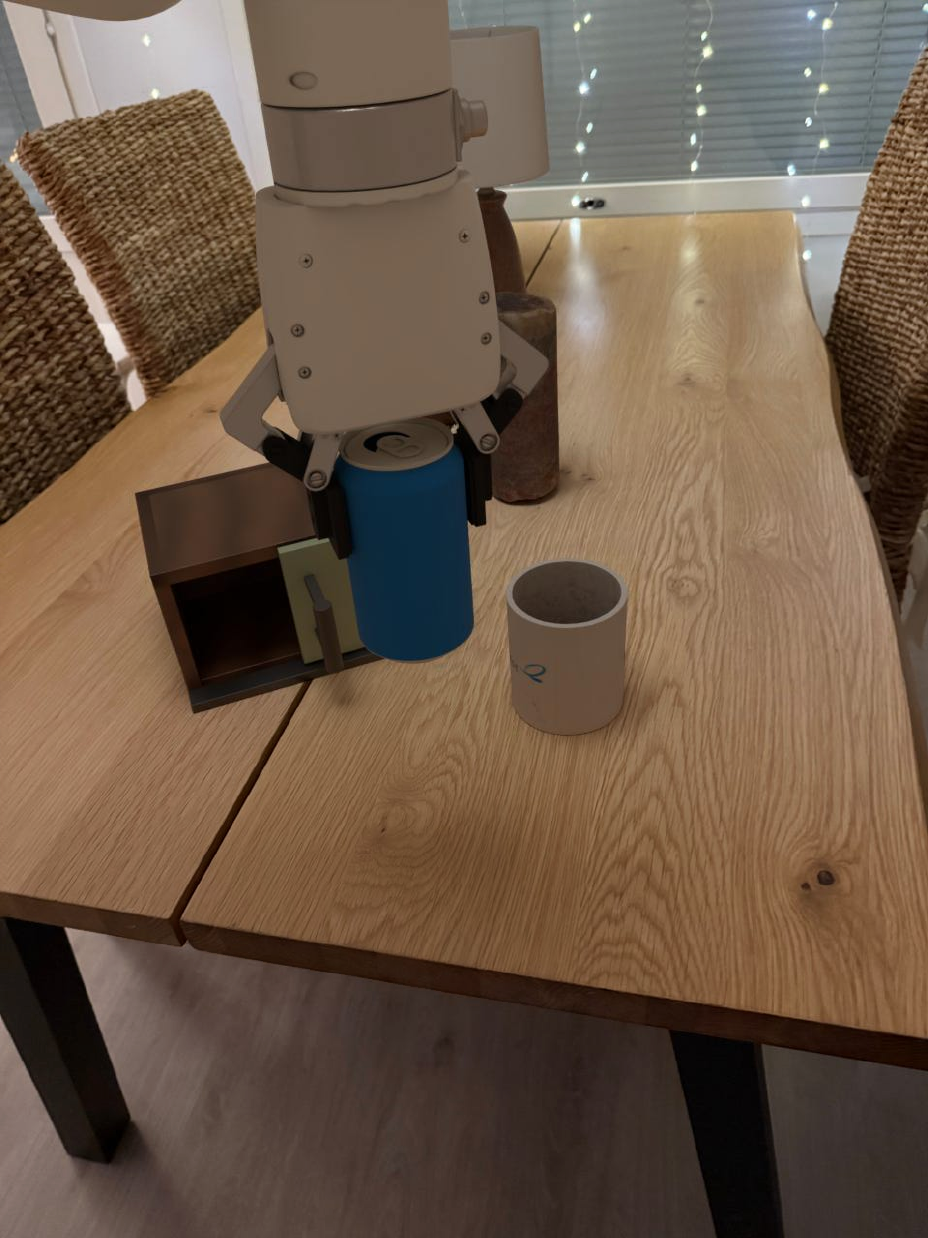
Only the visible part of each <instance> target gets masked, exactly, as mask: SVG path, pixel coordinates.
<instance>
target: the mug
mask: <svg viewBox="0 0 928 1238" xmlns="http://www.w3.org/2000/svg"><path fill="white" fill-rule="evenodd" d="M628 591H629V590H628V587H627V583H626V582H625V580H624V579H623V577H622V576H621V575H620V574H619V573H618V572H617V571H616V570H614V569H612V568H611V567H609V566H607V565H604V564H602V563H600V562H598V561H595V560H594V561H593V560H590V559H583V558H578V557H577V558H576V557H574V558H573V557H562V558H552V559H547V560H542V561H538V562H535V563H533V564H530V565H528V566H526V567H524V568H523V569H521V570H520V571H518V572H516V574H514V576H513V577H512V578H511V579H510V580H509V583H508V584H507V587H506V591H505V597H506V614H507V615H506V617H507V632H508V650H509V651H508V652H509V668H510V669H509V671H510V688H511V701H512V702H511V703H512V707H513V708H514V711H515V712H516V714H517V716H518V717H519V718H520V719H521V720H522V721H524V722H525V723H526V724H528V725H529V726H531V727H532V728H534V729H537V730H539V731H542V732H544V733H547V734H548V733H549V734H553V735H561V736H575V735H583V734H588V733H592V732H594V731H597V730H600V729H602V728H603V727H605V726H607V725H608V724H610V723H611V722H612V721H613V720H615V719H616V718H617V716H618V714H620V712H621V709H622V707H623V704H624V688H625V667H626V666H625V664H626V663H625V662H626V642H627V641H626V640H627V639H626V638H627V617H628V616H627V615H628V614H627V613H628V593H629V592H628Z"/></svg>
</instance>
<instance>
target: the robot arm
mask: <svg viewBox="0 0 928 1238" xmlns="http://www.w3.org/2000/svg"><path fill="white" fill-rule="evenodd" d="M2 1H4V2H8V3H13V4H17V5H22V6H26V7H30V8H35V9H39V10H44V11H49V12H53V13H59V14H63V15H68V16H72V17H77V18H84V19H90V20H97V21H103V22H104V21H105V22H130V21H139V20H143V19H148V18H151V17H154V16H156V15H158V14H162V13H164V12H165V11H167V10H170V9H171V8H172V7H174V6H176V5H178V4H179V3H180V2H182V0H2ZM243 6H244V12H245V17H246V24H247V30H248V36H249V41H250V42H249V43H250V48H251V52H252V60H253V66H254V70H255V71H254V72H255V78H256V85H257V89H258V95H259V101H260V111H261V116H262V122H263V127H264V133H265V141H266V146H267V151H268V157H269V163H270V164H269V165H270V169H271V175H272V180H273V185H269V186H265V187H263V188H260V189H259V190H257V192H255V201H254V202H255V203H254V230H255V231H254V232H255V252H256V265H257V277H258V288H259V294H260V295H259V296H260V305H261V312H262V318H263V319H262V320H263V326H264V334H265V340H266V347H267V349H266V350H265V351H264V352H263V354H262V355H261V357H260V358H259V359H258V361H257V362H256V363H255V365H254V366H253V367H252V368H251V370H249V373H248V374H247V375H246V377H245V378H244V379H243V381H242V382H241V383H240V385H239V386H238V387H237V389H236V390H235V391H234V392H233V394H232V395H231V396H230V398H229V399H228V401H227V402H226V403H225V404H224V406H223V407H222V409H220V412H219V419H220V422H221V425H222V427H223V429H224V432H225V433H226V434H227V435H228V436H229V437H232V438H233V439H235V440H236V441H237V442H239V443H241V444H242V445H244V446H246V447H247V448H248V449H250V450H252V451H253V452H256V453H258V454H260V455H261V456H263V458H265V460H266V461H267V462H270V463H272V464H273V465H275V466H277V467H278V468H280V469H282V470H283V471H285V472H287V473H288V474H290V475H292V476H293V477H295V478H297V479H299V480H300V481H302V482H304V484H305V486H306V492H307V498H308V503H309V509H310V514H311V520H312V524H313V528H314V531H315V534H316V536H317V539H318V540H322V539H327V538H328V539H329V541H330V543H331V545H332V547H333V549H334V551H335V553H336V555H337V557H338V559H339V560H342V559H346V558H349V555H351V554H352V547H351V541H350V534H349V528H348V521H347V515H346V508H345V502H344V495H343V491H342V488H341V486H340V484H339V482H338V480H337V478H336V477H335V475H334V473H333V467H334V464H335V461H336V458H337V454H338V451H339V448H340V444H341V441H342V438H343V434H344V432H349V431H354V430H359V429H364V428H369V427H374V426H379V425H384V424H389V423H394V422H399V421H404V420H409V419H413V418H418V417H423V416H428V415H433V414H437V413H442V412H447V411H450V413H451V415H452V416H453V418H454V420H455V421H456V423H455V424H456V425H457V429H456V430H455V431H456V432H452V433H453V442H454V443H455V444H456V445H457V446H458V448H459V449H460V451H461V453H462V455H463V459H464V471H465V487H466V502H467V518H468V524H469V525H471V526H474V527H475V528H479V527H484V526H486V525H487V507H486V504H487V503H486V502H489V501H492V500H493V497H494V495H493V491H492V469H491V453H492V452H494V451H495V450H496V449H497V447H498V446H499V443H500V438H499V436H500V434H501V433H502V432H503V431H504V429H505V428H506V427H507V426H508V424H509V423H510V422H511V421H512V419H513V418H514V417H515V415H516V414H517V413H518V412H519V410H520V409H521V407H522V405H523V399H524V398H525V396H526V395H529V393H530V392H531V391H532V389H533V388H534V387H535V385H536V384H537V383H538V381H539V380H540V379H541V377H542V376H543V375H544V373H545V372H546V371H547V369H548V366H549V362H548V359H547V358H546V357H545V356H544V355H543V354H542V353H540V352H539V351H538V350H537V349H535V348H534V347H533V346H531V345H530V344H529V343H528V342H526V341H525V340H524V339H523V338H521V337H520V336H519V335H518V334H516V333H515V332H514V331H512V330H511V329H510V328H509V327H507V326H506V325H505V324H504V323H502V322H501V321H500V320H498V316H497V306H496V298H495V289H494V281H493V274H492V268H491V262H490V256H489V250H488V245H487V240H486V235H485V229H484V224H483V219H482V214H481V210H480V206H479V201H478V197H477V193H476V191H477V190H476V189H477V188H475V186H474V182H473V178H472V175H471V173H469V172H468V171H466V170H465V169H464V168H462V167H459V166H457V162H461V161H462V151H461V149H462V147H463V142H468V141H469V140H470V138H471V137H479V136H485V134H486V133H487V129H488V115H487V109H486V106H485V103H484V102H483V101H482V100H476V101H468V102H467V100H466V99H465V98H463V99H460V97H459V95H458V89H455V88H452V86H453V80H452V61H451V44H450V29H451V28H450V15H449V0H243ZM500 355H501V356H503V357H504V358H505V359H506V360H507V367H506V369H505V371H504V372H503V374H502V375H503V376H502V377H501V379H500V365H501V361H500ZM499 379H500V380H499ZM277 397H278V400H279V401H280V402H281V403H284V402H285V405H286V406H287V408H288V411H289V414H290V418H291V421H292V423H293V425H294V426H295V427H296V429H298V433H297V438H295V437H293V436H292V435H290V434H288V433H287V432H285V431H283V430H282V429H280V428H278V427H277V426H273V425H271V424H270V423H268V422H267V420H265V419H264V418H263V416H264V414H265V413H266V411H267V410H268V409H269V408H270V406H271V405H272V404H273V403H274V401H275V400H276V399H277Z"/></svg>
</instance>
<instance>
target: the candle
mask: <svg viewBox="0 0 928 1238" xmlns="http://www.w3.org/2000/svg"><path fill="white" fill-rule="evenodd" d="M495 298H496V306H497V316H498V320H500V321H501V322H502V323H504V324H505V325H506V326H507V327H509V328H510V329H511V330H512V331H514V332H515V333H516V334H518V335H519V336H520V337H521V338H523V339H524V340H525V341H526V342H528V343H529V344H530V345H531V346H533V347H534V348H535V349H537V350H538V351H539V352H540V353H542V354H543V355H544V356H545V357H546V358H547V359H548V362H549V366H548V369H547V371H546V372H545V373H544V375H543V376H542V377H541V379H540V380H539V381H538V383H537V384H536V385H535V387H534V388H533V389H532V391H531V392H530V393H529V395H526V396H525V398H524V399H523V405H522V407H521V409H520V410H519V412H518V413H517V414H516V415H515V417H514V418H513V419H512V421H511V422H510V423H509V424H508V426H507V427H506V428H505V429H504V431H503V432H502V433H501V434H500V436H499V438H500V443H499V446H498V447H497V449H496V450H495V451H494V452H492V453H491V469H492V491H493V497H495V498H498V499H501V500H503V501H505V502H509V503H511V502H516V501H518V500H519V501H522V500H537V499H539V498H541V497H544V496H546V495H547V494H548V493H550V492H552V491H553V490H554V488H556V487H555V486H556V485H557V484H558V482H559V481H560V432H559V431H560V429H559V428H560V427H559V425H560V423H559V401H558V400H559V387H558V327H557V326H558V323H557V321H558V319H557V318H558V317H557V308H556V306H555V303H554V302H553V300H551V299H550V298H548V297H547V296H544V295H534V294H529V293H527V294H520V293H514V292H500V293H497V294H495ZM500 361H501V365H500V379H501V377H502V376H503V375H502V374H503V372H504V371H505V369H506V367H507V360H506V359H505V358H504V357H503V356H501V355H500ZM500 379H499V380H500Z"/></svg>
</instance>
